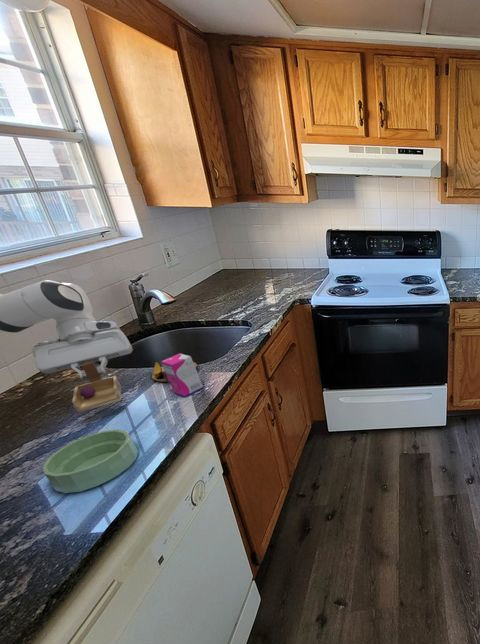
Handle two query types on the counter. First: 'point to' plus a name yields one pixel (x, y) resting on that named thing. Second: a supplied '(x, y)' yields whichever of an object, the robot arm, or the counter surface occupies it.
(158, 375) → the toy sandwich meal
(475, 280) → the counter surface
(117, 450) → the bowl
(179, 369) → the supplement box
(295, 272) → the counter surface
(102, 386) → the scoop
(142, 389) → the counter surface
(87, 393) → the ball
